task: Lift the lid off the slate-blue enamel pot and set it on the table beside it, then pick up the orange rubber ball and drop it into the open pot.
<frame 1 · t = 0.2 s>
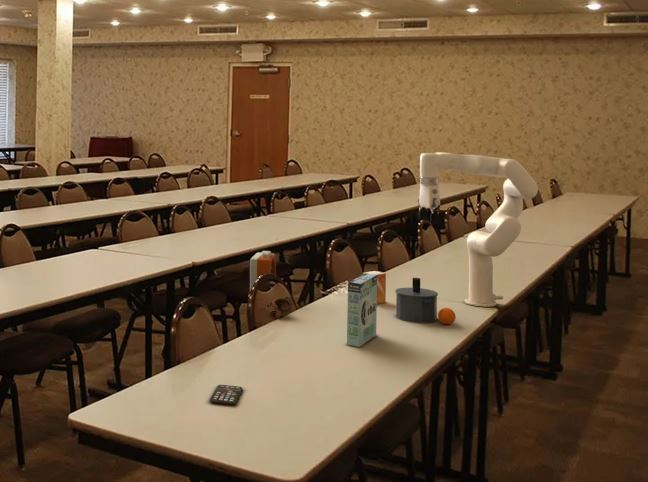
hand: (428, 221, 355), 37 cm above the table, tool pointing down, fingers open, 9 cm apart
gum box: (362, 340, 301), on the table
black calculator: (226, 396, 242), on the table
alarm clock: (263, 296, 373), on the table
small box: (374, 302, 362), on the table
lid: (416, 293, 334), point 10 cm above the table, touching pot
pot: (416, 317, 334), on the table
ball: (446, 324, 324), on the table
orange grey twisted loop: (277, 316, 338), on the table
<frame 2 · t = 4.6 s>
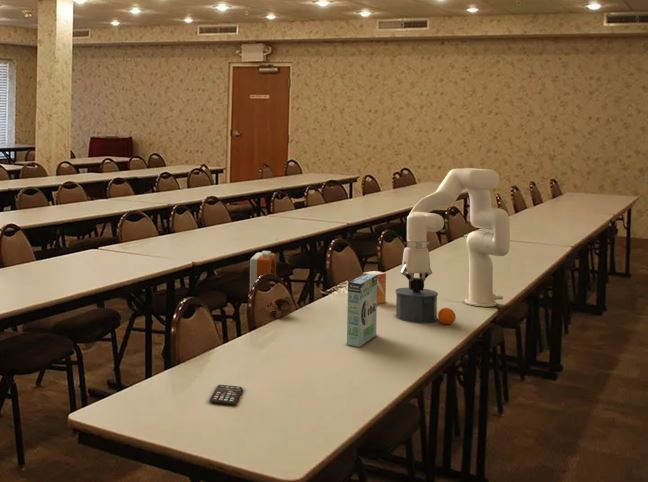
hand: (416, 289, 334), 12 cm above the table, tool pointing down, fingers closed on lid, 3 cm apart
lid: (416, 293, 334), point 10 cm above the table, touching gripper, pot
everything else where it was.
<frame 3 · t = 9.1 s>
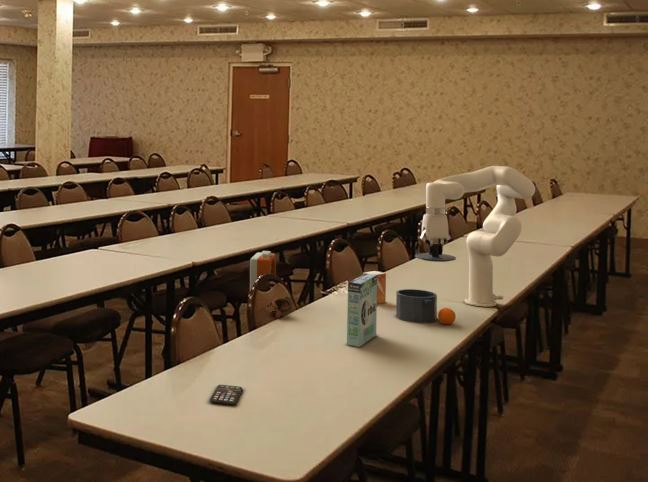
hand: (435, 254, 349), 23 cm above the table, tool pointing down, fingers closed on lid, 3 cm apart
lid: (435, 257, 349), point 22 cm above the table, touching gripper
everything else where it was.
when the fingers open (2 cm above the table, at t = 13.8 s): lid stays where it is, point 1 cm above the table.
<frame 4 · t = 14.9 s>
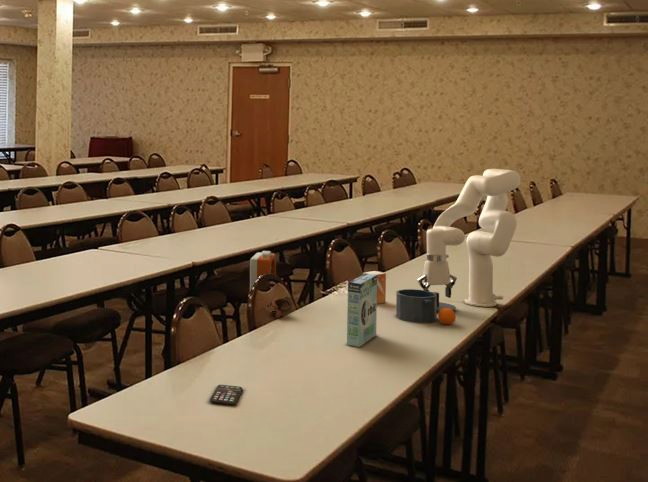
hand: (437, 297, 350), 4 cm above the table, tool pointing down, fingers open, 9 cm apart
lid: (435, 307, 350), point 1 cm above the table
everything else where it was.
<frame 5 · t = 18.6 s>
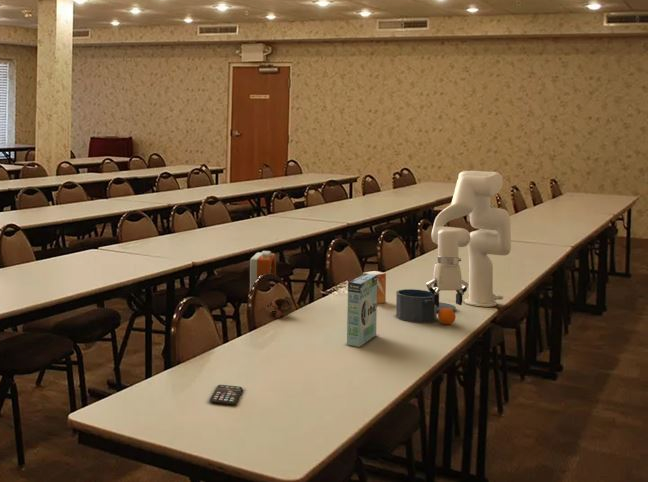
hand: (447, 304, 323), 8 cm above the table, tool pointing down, fingers open, 9 cm apart
nothing on the table moved.
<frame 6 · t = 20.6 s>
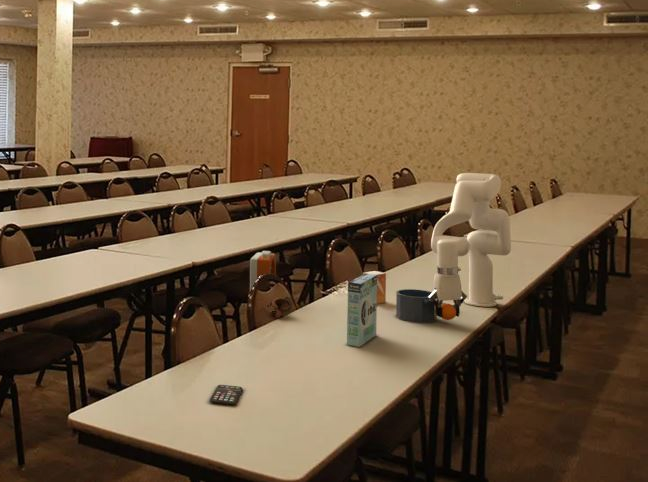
hand: (447, 315, 325), 3 cm above the table, tool pointing down, fingers closed on ball, 6 cm apart
ball: (447, 319, 325), point 2 cm above the table, touching gripper
everything else where it was.
when the fingers open (6 cm above the table, at t = 27.8 s): ball drops 3 cm, resting on pot.
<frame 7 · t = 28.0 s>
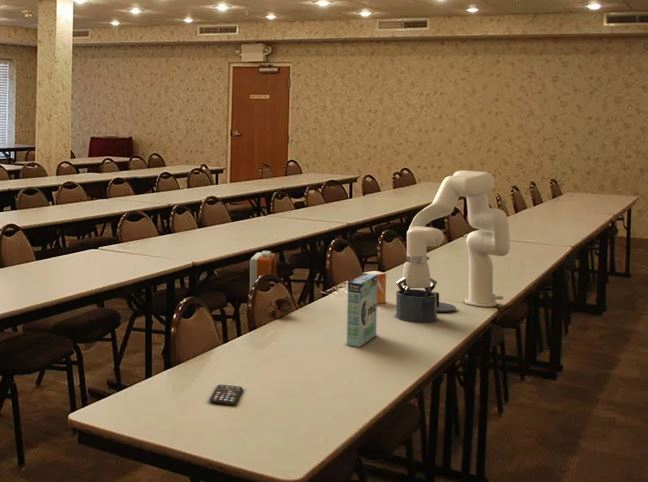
hand: (416, 302, 334), 6 cm above the table, tool pointing down, fingers open, 8 cm apart
ball: (416, 316, 335), point 1 cm above the table, touching pot
everything else where it was.
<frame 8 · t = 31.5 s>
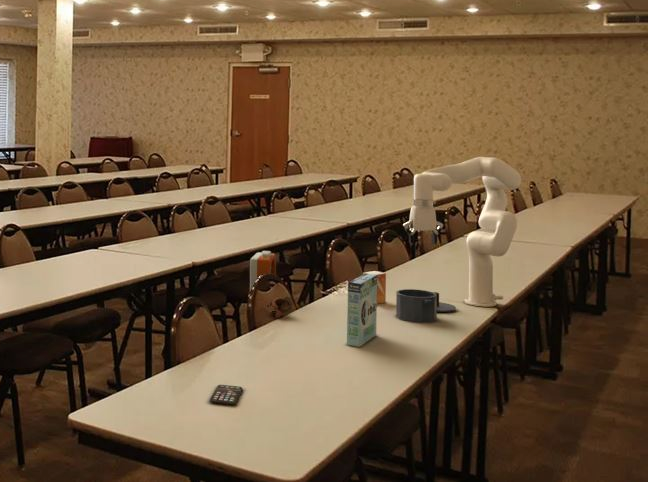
hand: (422, 244, 345), 28 cm above the table, tool pointing down, fingers open, 9 cm apart
nothing on the table moved.
at the end: lid inside the target area (0.2 cm from its centre), point 0.6 cm above the table; ball inside the target area in the pot (0.3 cm from its centre), point 0.5 cm above the pot's base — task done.
